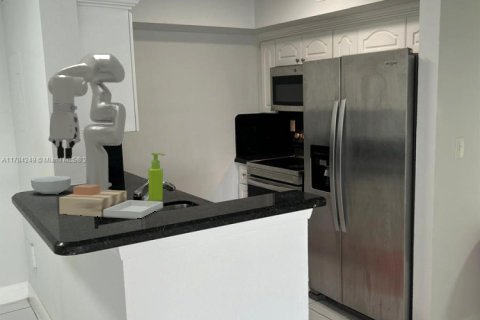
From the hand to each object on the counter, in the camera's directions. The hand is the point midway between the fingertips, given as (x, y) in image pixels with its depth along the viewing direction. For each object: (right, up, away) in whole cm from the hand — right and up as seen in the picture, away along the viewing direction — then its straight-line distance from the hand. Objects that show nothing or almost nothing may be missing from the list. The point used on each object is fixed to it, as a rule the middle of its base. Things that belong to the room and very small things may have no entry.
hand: (64, 158), depth 168 cm
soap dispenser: (+31, -18, +22) cm, 42 cm away
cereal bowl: (-20, -16, +35) cm, 44 cm away
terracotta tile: (+9, -13, -1) cm, 16 cm away
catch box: (+27, -20, -4) cm, 34 cm away
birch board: (+12, -19, -1) cm, 23 cm away
